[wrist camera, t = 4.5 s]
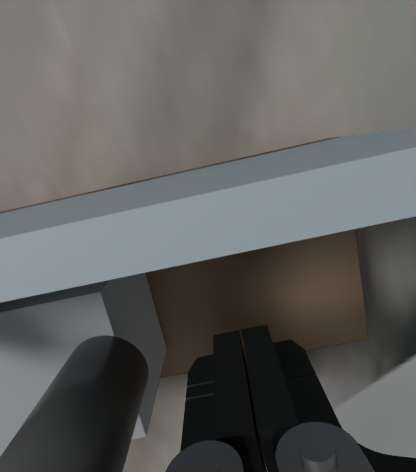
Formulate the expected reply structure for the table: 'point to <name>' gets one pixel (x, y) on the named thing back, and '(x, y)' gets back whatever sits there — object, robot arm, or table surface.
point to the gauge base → (260, 295)
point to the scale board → (209, 213)
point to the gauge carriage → (78, 376)
